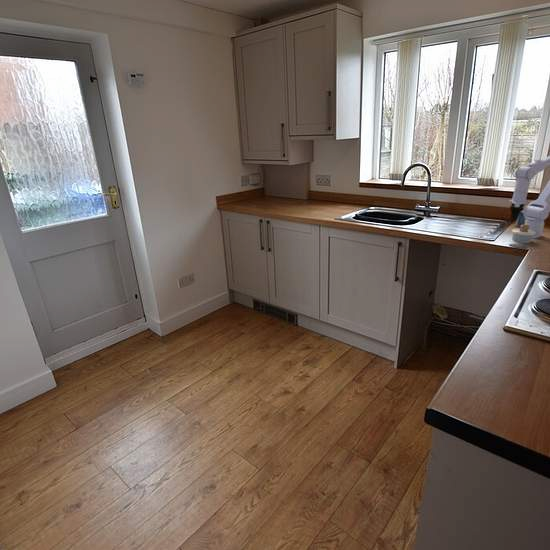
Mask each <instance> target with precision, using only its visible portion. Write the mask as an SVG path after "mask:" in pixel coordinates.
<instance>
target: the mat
mask: <svg viewBox="0 0 550 550" xmlns="http://www.w3.org/2000/svg"><path fill="white" fill-rule="evenodd" d="M508 247H510V248H513V249H519V250H525V249H526V250H527V249H528V248H529V247H528V246H527V245H525V244H522V243H520V244H519V243H508Z"/></svg>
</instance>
